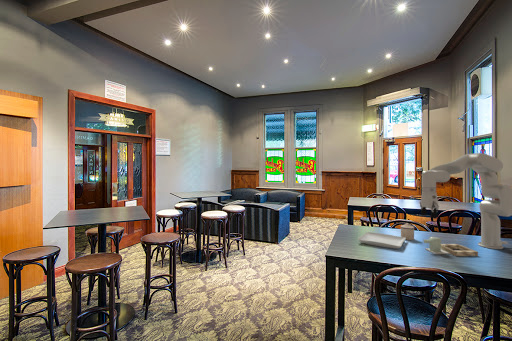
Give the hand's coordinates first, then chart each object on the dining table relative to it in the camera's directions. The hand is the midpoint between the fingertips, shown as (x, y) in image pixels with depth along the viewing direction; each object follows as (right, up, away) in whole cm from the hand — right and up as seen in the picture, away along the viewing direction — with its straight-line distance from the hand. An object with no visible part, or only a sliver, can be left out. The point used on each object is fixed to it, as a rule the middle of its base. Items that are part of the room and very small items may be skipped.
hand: (428, 216), depth 162 cm
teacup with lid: (+4, -22, +31) cm, 38 cm away
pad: (+5, -22, 0) cm, 23 cm away
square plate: (-20, -23, +20) cm, 36 cm away
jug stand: (+17, -22, 0) cm, 28 cm away
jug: (+2, -22, 0) cm, 22 cm away
